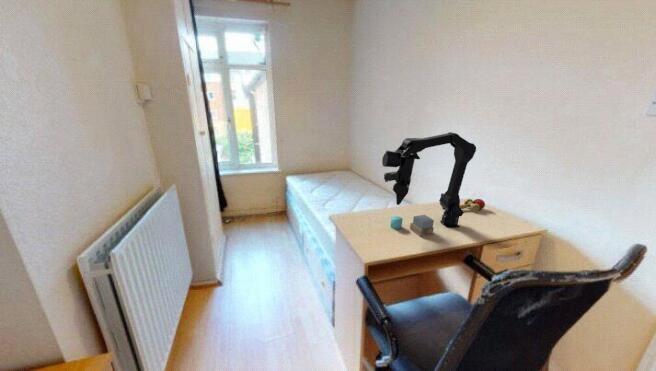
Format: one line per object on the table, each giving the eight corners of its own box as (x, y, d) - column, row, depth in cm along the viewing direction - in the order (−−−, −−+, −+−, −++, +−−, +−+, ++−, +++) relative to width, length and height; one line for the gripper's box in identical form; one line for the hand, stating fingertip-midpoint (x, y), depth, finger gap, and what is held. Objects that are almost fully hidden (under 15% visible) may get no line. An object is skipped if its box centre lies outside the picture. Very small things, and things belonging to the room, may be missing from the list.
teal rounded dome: (399, 224, 121) (400, 215, 120) (403, 229, 117) (404, 220, 115) (389, 224, 121) (389, 216, 120) (392, 229, 116) (393, 221, 115)
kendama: (458, 216, 134) (489, 210, 136) (457, 205, 133) (488, 198, 135) (449, 212, 142) (478, 206, 144) (448, 201, 141) (478, 196, 143)
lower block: (422, 227, 120) (423, 220, 118) (432, 234, 113) (433, 227, 112) (409, 229, 117) (410, 223, 116) (419, 237, 111) (420, 230, 110)
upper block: (423, 221, 118) (424, 214, 117) (432, 227, 113) (433, 220, 111) (412, 223, 116) (413, 216, 115) (421, 229, 111) (422, 222, 109)
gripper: (389, 161, 121) (384, 191, 126) (383, 168, 104) (377, 204, 109) (414, 165, 117) (407, 196, 122) (412, 174, 100) (404, 210, 105)
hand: (398, 201), depth 115 cm, fingers open, 9 cm apart
